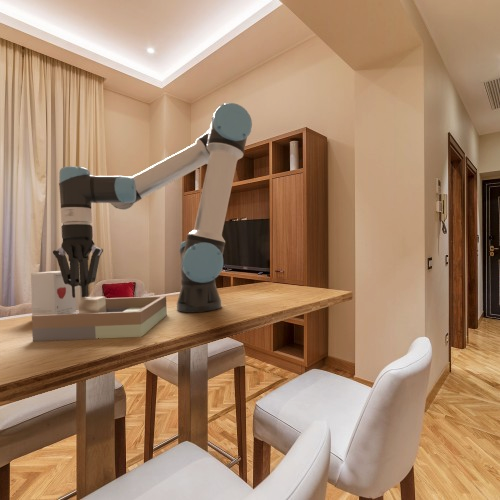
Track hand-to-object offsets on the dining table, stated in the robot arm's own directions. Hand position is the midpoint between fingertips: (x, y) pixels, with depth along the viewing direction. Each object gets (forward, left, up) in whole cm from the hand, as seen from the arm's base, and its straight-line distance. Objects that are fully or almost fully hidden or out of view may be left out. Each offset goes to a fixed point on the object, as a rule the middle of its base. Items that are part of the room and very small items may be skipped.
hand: (81, 309), depth 87 cm
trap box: (-8, 0, -5) cm, 9 cm away
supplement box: (+16, -15, -5) cm, 23 cm away
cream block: (-3, 0, -2) cm, 4 cm away
